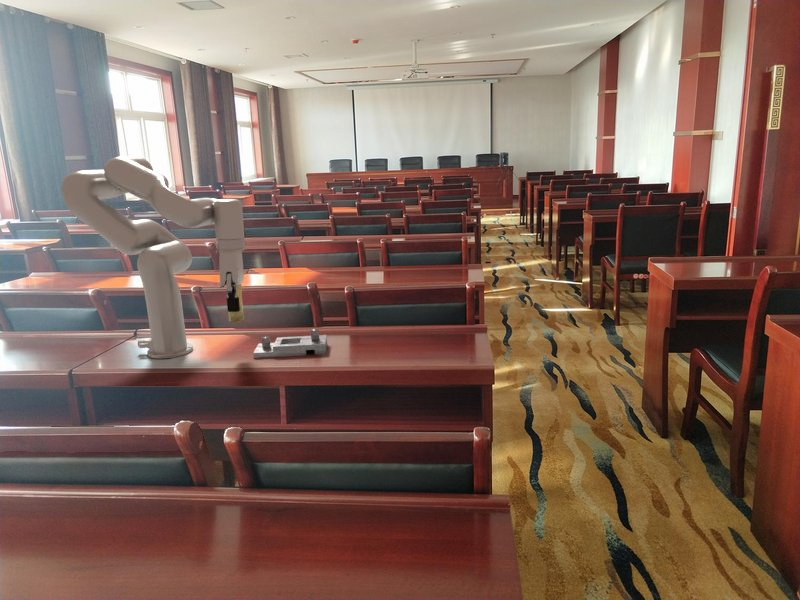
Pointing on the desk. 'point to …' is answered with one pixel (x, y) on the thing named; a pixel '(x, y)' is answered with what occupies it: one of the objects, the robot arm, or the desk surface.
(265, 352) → the slotted link plate
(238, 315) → the brass pin
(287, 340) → the upper chain link
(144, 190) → the robot arm
